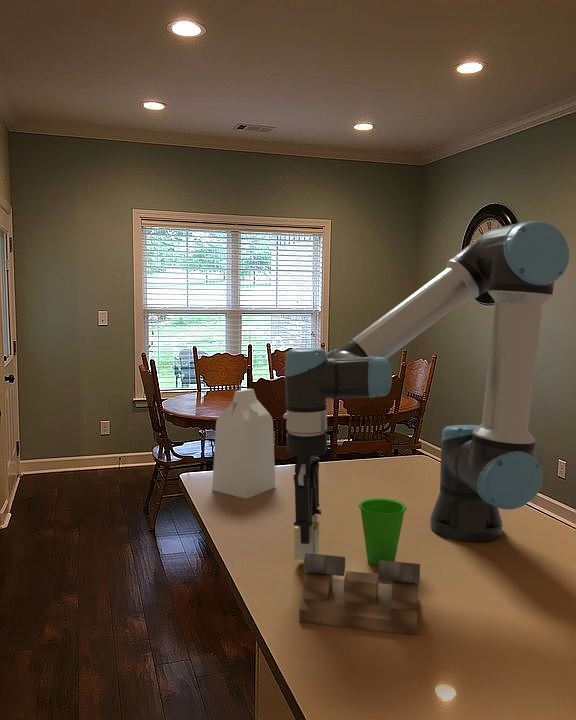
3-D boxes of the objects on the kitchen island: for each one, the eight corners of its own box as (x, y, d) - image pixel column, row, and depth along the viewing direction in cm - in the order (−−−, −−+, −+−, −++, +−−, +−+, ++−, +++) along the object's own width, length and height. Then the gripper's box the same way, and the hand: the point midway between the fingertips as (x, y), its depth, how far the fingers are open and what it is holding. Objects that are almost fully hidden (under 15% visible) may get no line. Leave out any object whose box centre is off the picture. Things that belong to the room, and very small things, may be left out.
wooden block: (319, 552, 123) (319, 521, 122) (315, 560, 119) (315, 529, 118) (298, 550, 124) (298, 520, 123) (294, 559, 120) (294, 528, 119)
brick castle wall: (418, 598, 108) (420, 550, 108) (417, 635, 97) (419, 581, 96) (311, 587, 112) (311, 540, 111) (297, 621, 100) (298, 569, 100)
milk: (241, 479, 176) (242, 385, 174) (275, 487, 170) (276, 389, 167) (212, 490, 167) (211, 390, 164) (246, 498, 160) (246, 395, 157)
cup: (393, 575, 117) (395, 516, 116) (349, 563, 122) (350, 507, 121) (412, 558, 125) (413, 503, 124) (369, 548, 130) (370, 495, 129)
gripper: (295, 421, 128) (297, 535, 130) (276, 441, 111) (279, 571, 114) (333, 422, 126) (334, 537, 129) (319, 443, 110) (321, 574, 112)
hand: (308, 553), depth 121 cm, fingers closed on wooden block, 4 cm apart
